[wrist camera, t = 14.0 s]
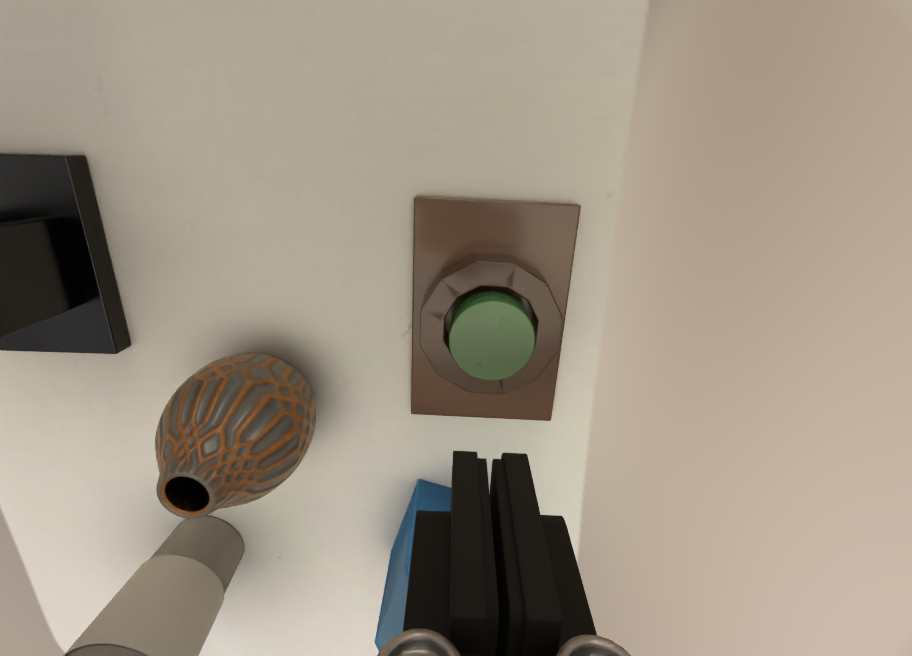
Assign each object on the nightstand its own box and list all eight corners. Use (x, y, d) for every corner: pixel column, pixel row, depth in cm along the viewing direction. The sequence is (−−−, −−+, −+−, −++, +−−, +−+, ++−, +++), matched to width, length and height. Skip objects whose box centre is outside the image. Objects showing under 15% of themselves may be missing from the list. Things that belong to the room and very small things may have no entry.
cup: (173, 485, 30) (-5, 691, 18) (273, 523, 31) (164, 739, 19) (147, 562, 32) (-23, 785, 21) (242, 594, 33) (127, 824, 22)
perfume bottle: (418, 479, 29) (390, 685, 18) (511, 505, 30) (540, 721, 19) (391, 550, 31) (350, 775, 20) (478, 574, 32) (486, 804, 21)
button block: (415, 195, 23) (410, 200, 21) (577, 203, 23) (590, 209, 21) (412, 408, 27) (407, 432, 25) (548, 414, 27) (556, 439, 25)
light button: (451, 287, 22) (450, 298, 21) (534, 291, 23) (540, 303, 21) (447, 363, 24) (446, 378, 22) (526, 367, 24) (530, 383, 22)
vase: (189, 350, 26) (64, 442, 18) (305, 323, 26) (230, 406, 17) (238, 451, 29) (147, 573, 20) (345, 429, 28) (296, 546, 20)
